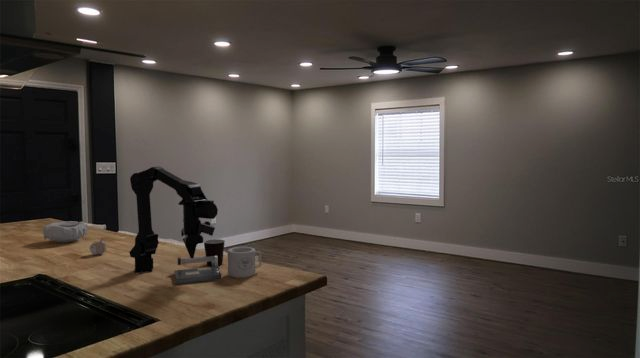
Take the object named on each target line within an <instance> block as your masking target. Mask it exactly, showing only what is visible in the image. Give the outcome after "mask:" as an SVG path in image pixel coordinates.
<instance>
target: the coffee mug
mask: <svg viewBox="0 0 640 358" xmlns="http://www.w3.org/2000/svg"><path fill="white" fill-rule="evenodd" d="M225 242H226V241H225V240H224V239H219V238H216V239H206V240H203V246H204V253H205V256H214V255H217V256H218V267H220V266H222V265H223V260H224V250H225ZM207 265H208V266H207ZM206 266H207V267H212V261H209V262H206Z"/></svg>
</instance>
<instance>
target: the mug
mask: <svg viewBox="0 0 640 358" xmlns="http://www.w3.org/2000/svg"><path fill="white" fill-rule="evenodd" d="M226 254H227V275H228V276H229V277H231V278H233V279H245V278H250V277H253V276H254V275H255V274H256V269H258V268H260V267H261V266H262V252H261V251H259V250H256V248H254V247H250V246H235V247H232V248H229V249H228V250H227V252H226ZM256 254H259V265H256Z"/></svg>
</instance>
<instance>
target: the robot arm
mask: <svg viewBox="0 0 640 358" xmlns="http://www.w3.org/2000/svg"><path fill="white" fill-rule="evenodd" d="M156 181H160V182H161V183H163V184H164V185H166V186H168V187H169V188H172V189H173V190H174V191H175V192H176V194H177V195H178V196H179V197H180V198H181V201H179V202H178V205H179V206H182V211H183V212H182V215H183V216H182V217H183V218H182V223H183V228H182V229H181V230H180V235H181V237H184V238H182V240H183V241H182V242H183V244H184V246H185V248H186V250H187V253H188V255H189V258H194V257H195V254H196V250H197V245H198V244H204V236H202V233H203V234H206V235H208V236H211V237H212V236H213V235H214V232H215V229H216V227H215V226H213V225H211V223H210V221H207V219H209V220H213V219H216V217H217V216H218V210H219V209H218V206H217V205H216V204H215V202H214V200H213V199H210V200H208V198H207V196H206V195H205V193H204V192H203V190H202V188H201V187H202V186H201V185H200V184H199V183H196V182H193V181H188V180H185V179H182V178H181V177H178V176H177V175H175V174H173V173H172V172H169V171H168V170H166V169H164V167H161V166H152V167H150V168H148V169H145V170H143V171H140V172H134V173H133V174H132V175H131V176H130V187H131V190H132V191H133V192H134V194H135V197H136V212H137V223H138V224H137V225H138V232H137V234H136V236H135V238H134V246H133V247H132V248H131V249H130V251H129V253H128V254H129V257H130V258H133V259H134V273H135V274H139V273H149V272H153V269H154V257H152V255H155V254H156V253H157V248H158V247H159V244H160V243H159V234H158V233H155V231H154V230H153V227H152V226H153V225H152V209H151V207H152V206H151V193H152V191H153V188H154V183H155V182H156ZM200 219H206V221H204V222H202V221H201V220H200Z"/></svg>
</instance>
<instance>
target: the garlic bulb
mask: <svg viewBox="0 0 640 358" xmlns="http://www.w3.org/2000/svg"><path fill="white" fill-rule="evenodd" d="M103 240H104V238H101V239H100V240H97V241H95V242H93V243H92V244H91V245H90V247H89V251H90V253H91V254H92V255H95V256H99V255H103V254H104V253H105V252H106V251H107V245H106V244H107V243H106V242H105V241H103Z"/></svg>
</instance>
